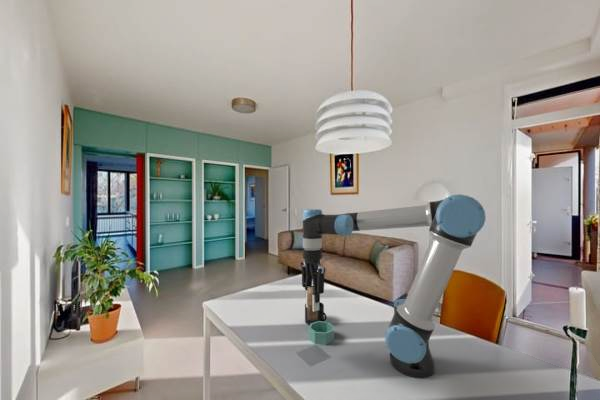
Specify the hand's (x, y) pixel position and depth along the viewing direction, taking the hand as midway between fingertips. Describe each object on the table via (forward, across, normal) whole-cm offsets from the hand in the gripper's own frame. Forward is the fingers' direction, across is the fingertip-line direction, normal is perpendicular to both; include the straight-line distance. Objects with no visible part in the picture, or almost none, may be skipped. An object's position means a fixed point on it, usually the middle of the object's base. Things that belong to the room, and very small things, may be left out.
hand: (312, 308), depth 99 cm
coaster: (+19, 0, 0) cm, 19 cm away
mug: (+19, +21, -18) cm, 33 cm away
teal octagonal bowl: (+19, +8, -11) cm, 23 cm away
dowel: (+4, 0, 0) cm, 4 cm away
